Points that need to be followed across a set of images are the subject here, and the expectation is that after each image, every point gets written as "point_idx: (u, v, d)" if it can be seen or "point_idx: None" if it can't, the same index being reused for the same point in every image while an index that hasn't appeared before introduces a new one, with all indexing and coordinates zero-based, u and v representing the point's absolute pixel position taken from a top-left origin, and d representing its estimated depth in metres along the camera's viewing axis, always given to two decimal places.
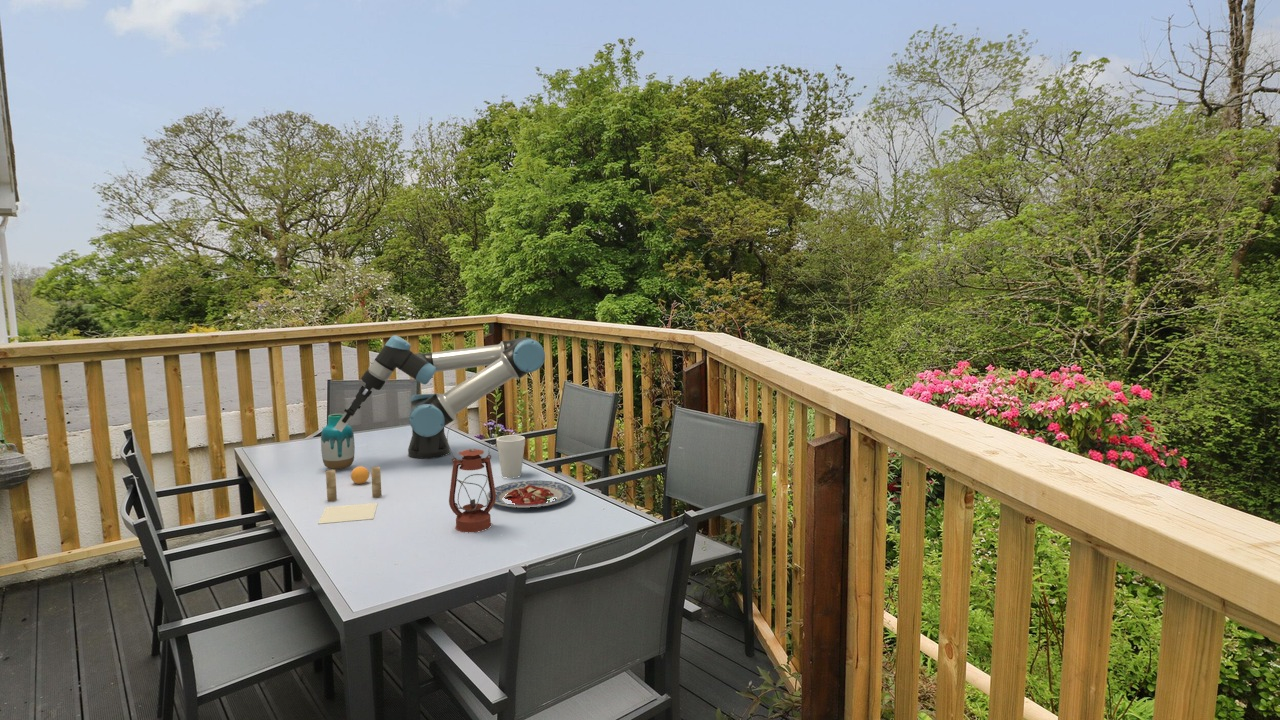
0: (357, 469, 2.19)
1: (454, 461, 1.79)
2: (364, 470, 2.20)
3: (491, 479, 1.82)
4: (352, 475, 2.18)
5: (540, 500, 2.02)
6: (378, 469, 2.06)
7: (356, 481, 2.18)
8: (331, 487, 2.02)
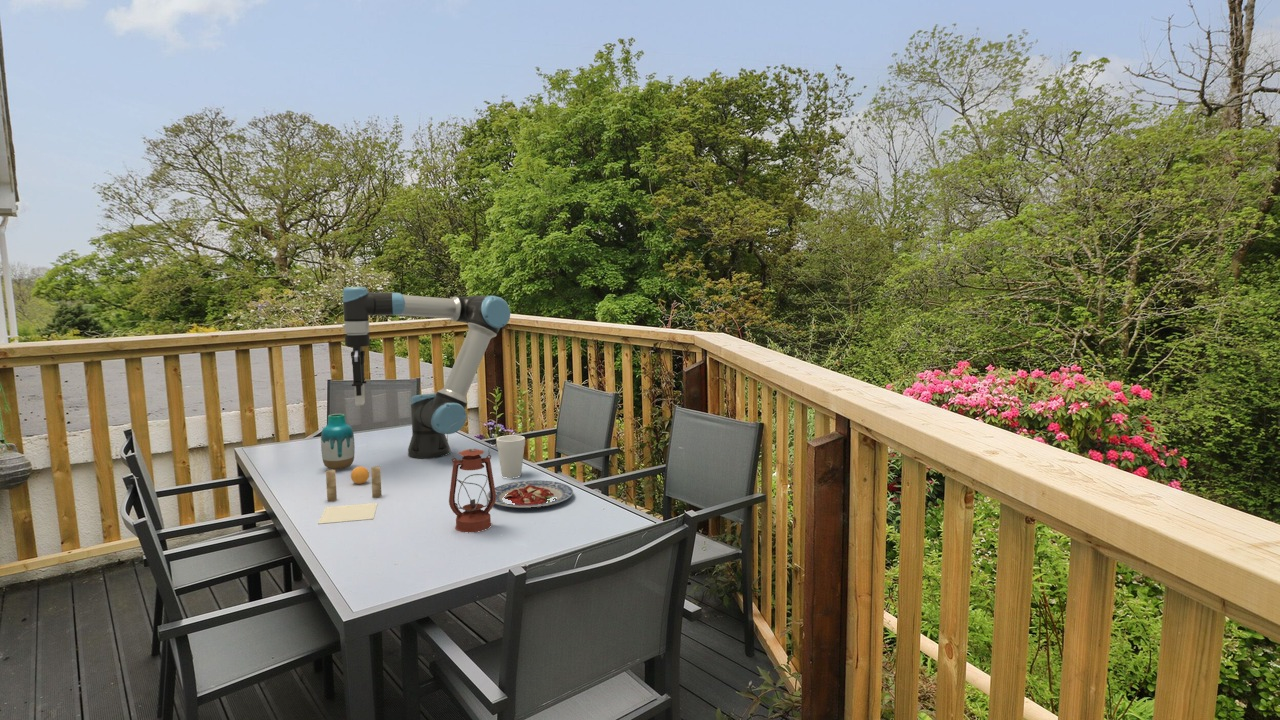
0: (357, 469, 2.19)
1: (454, 461, 1.79)
2: (364, 470, 2.20)
3: (491, 479, 1.82)
4: (352, 475, 2.18)
5: (540, 500, 2.02)
6: (378, 469, 2.06)
7: (356, 481, 2.18)
8: (331, 487, 2.02)
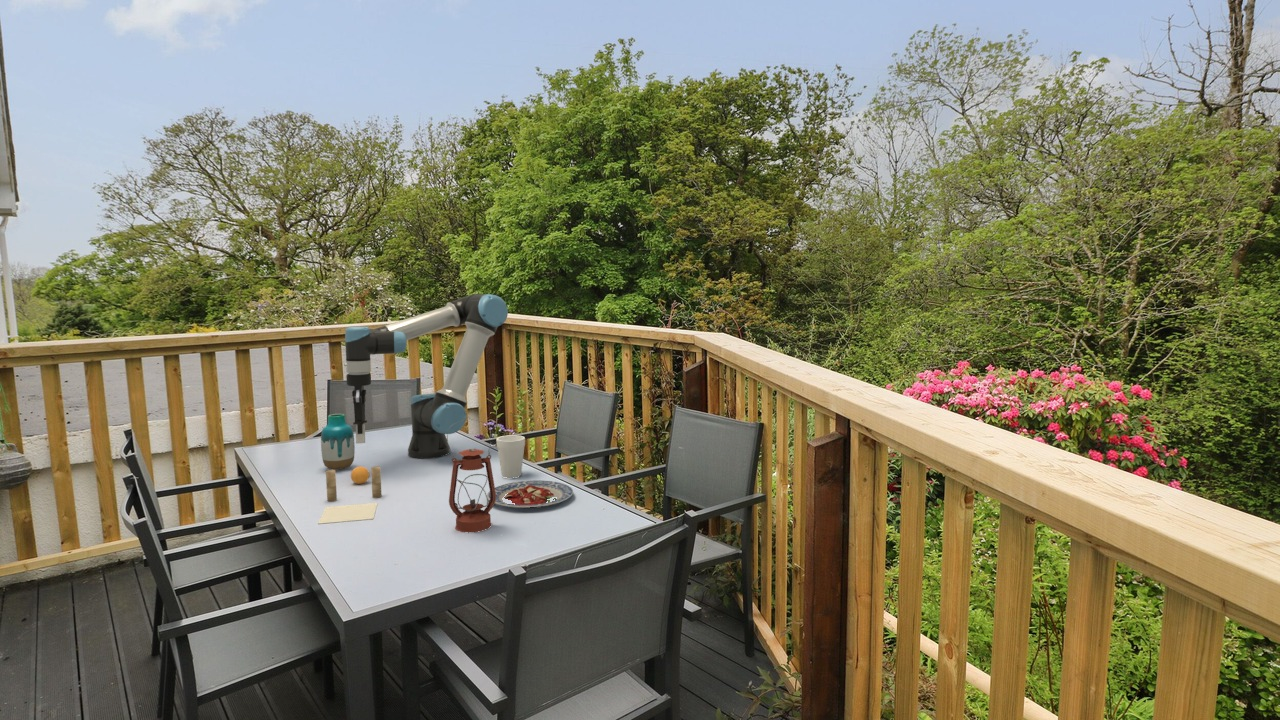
0: (357, 469, 2.19)
1: (454, 461, 1.79)
2: (364, 470, 2.20)
3: (491, 479, 1.82)
4: (352, 475, 2.18)
5: (540, 500, 2.02)
6: (378, 469, 2.06)
7: (356, 481, 2.18)
8: (331, 487, 2.02)
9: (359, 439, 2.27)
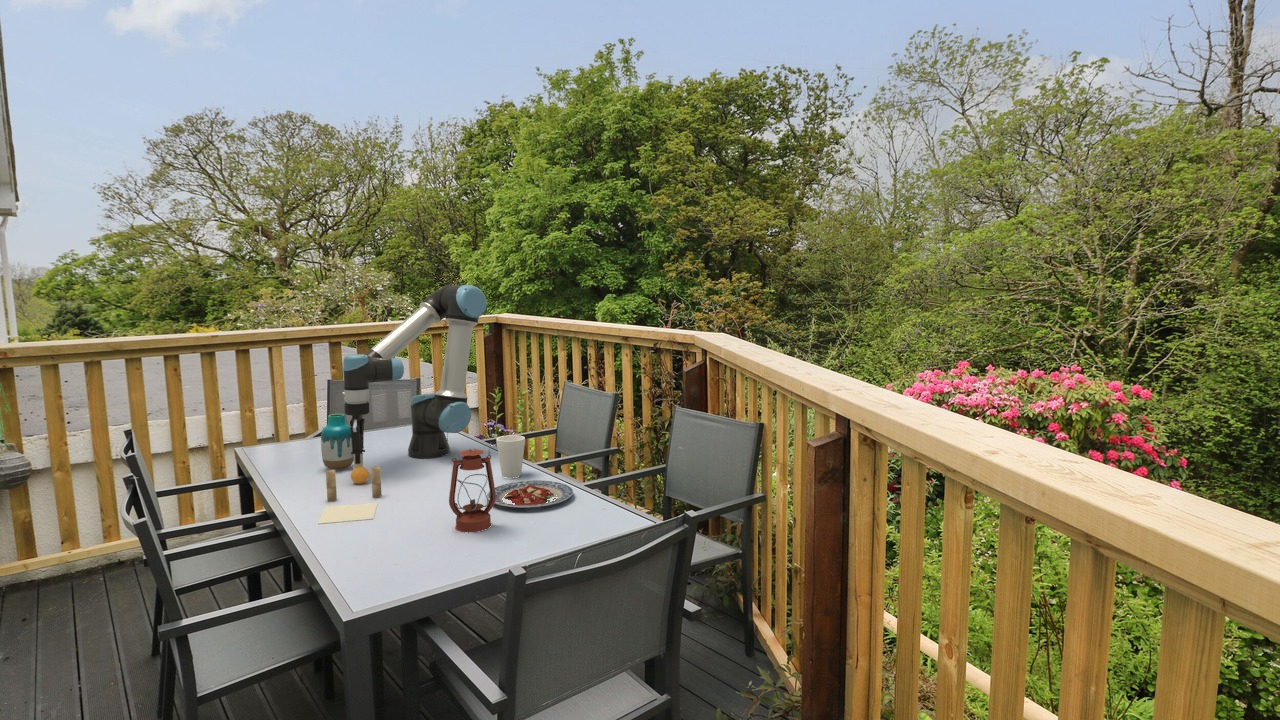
0: (357, 469, 2.19)
1: (454, 461, 1.79)
2: (364, 470, 2.20)
3: (491, 479, 1.82)
4: (352, 475, 2.18)
5: (540, 500, 2.02)
6: (378, 469, 2.06)
7: (356, 481, 2.18)
8: (331, 487, 2.02)
9: None
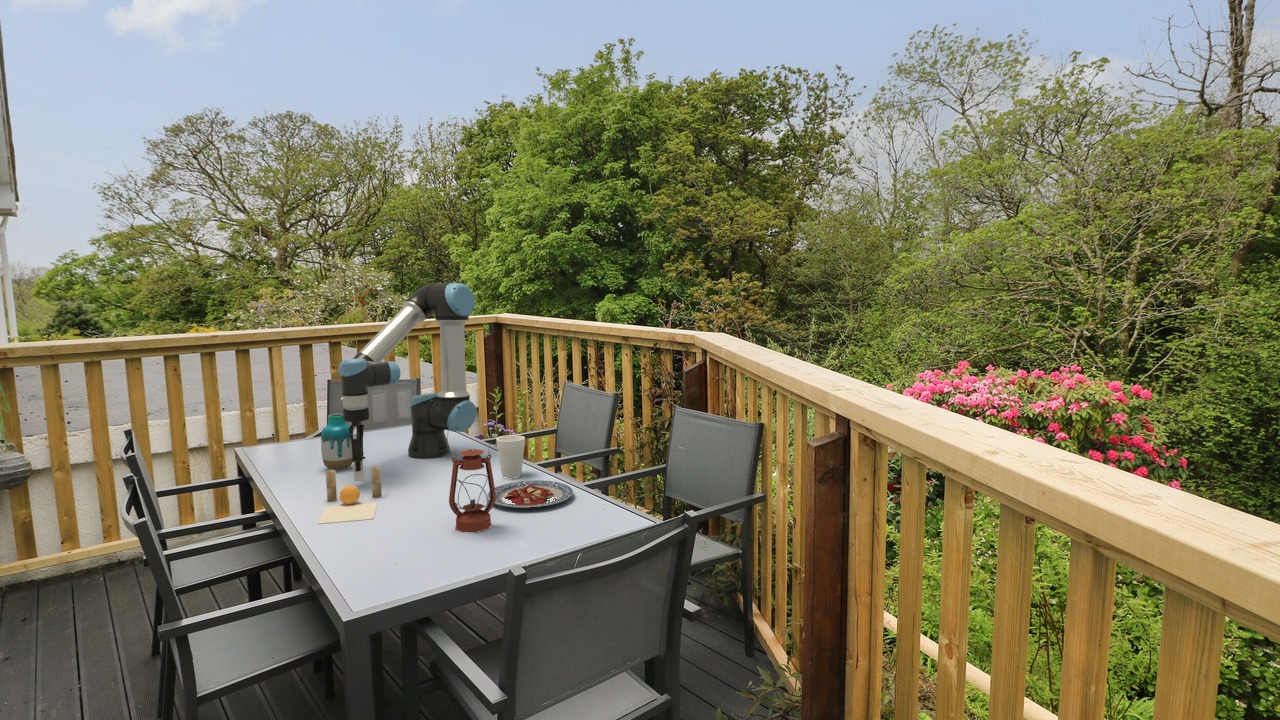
0: (346, 499, 1.98)
1: (454, 461, 1.79)
2: (354, 498, 1.99)
3: (491, 479, 1.82)
4: (342, 501, 1.99)
5: (540, 500, 2.02)
6: (378, 469, 2.06)
7: None
8: (331, 487, 2.02)
9: (357, 477, 2.17)
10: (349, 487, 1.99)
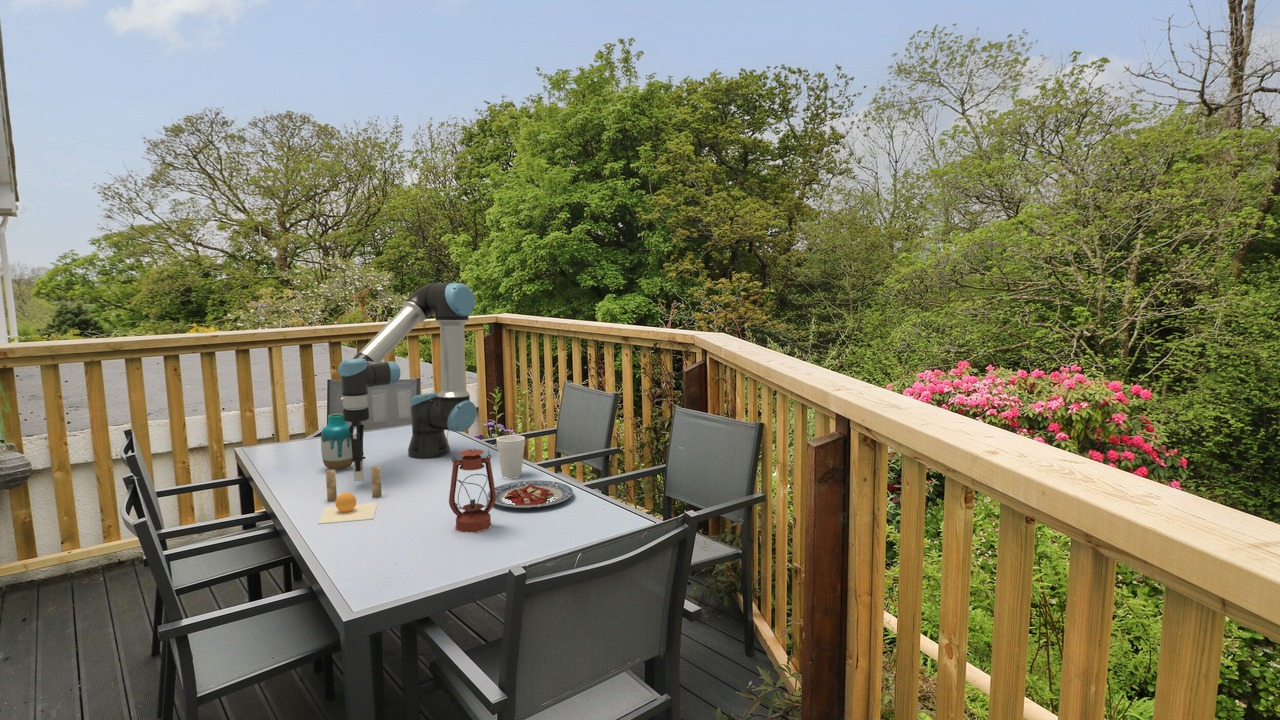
0: None
1: (454, 461, 1.79)
2: None
3: (491, 479, 1.82)
4: None
5: (540, 500, 2.02)
6: (378, 469, 2.06)
7: None
8: (331, 487, 2.02)
9: (357, 477, 2.17)
10: (346, 511, 1.93)
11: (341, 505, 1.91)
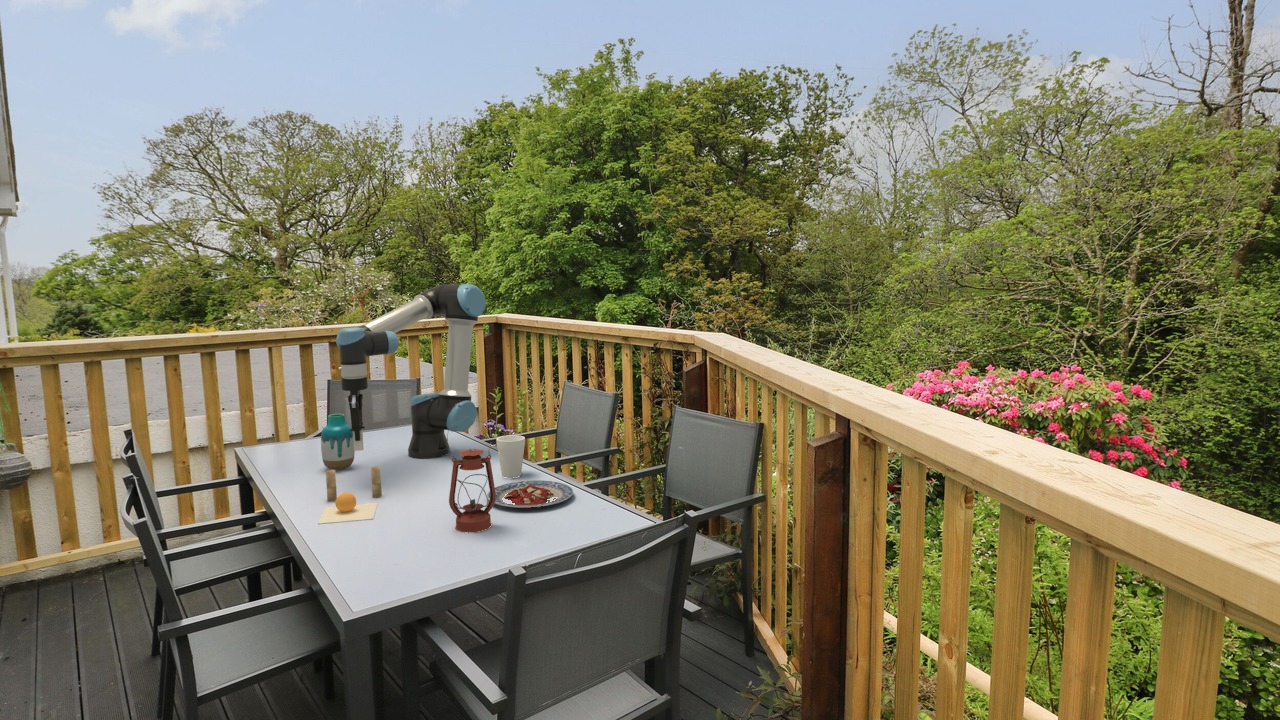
0: None
1: (454, 461, 1.79)
2: None
3: (491, 479, 1.82)
4: None
5: (540, 500, 2.02)
6: (378, 469, 2.06)
7: None
8: (331, 487, 2.02)
9: (357, 446, 2.16)
10: (346, 511, 1.93)
11: (341, 505, 1.91)
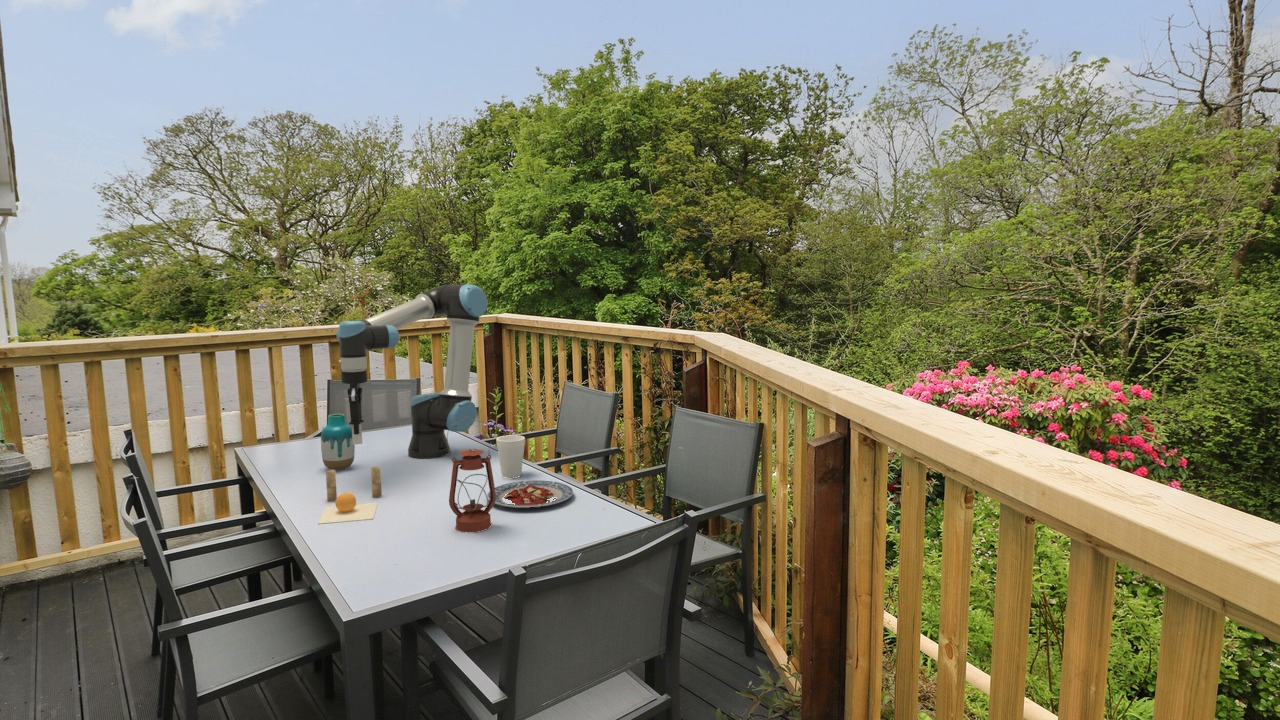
0: None
1: (454, 461, 1.79)
2: None
3: (491, 479, 1.82)
4: None
5: (540, 500, 2.02)
6: (378, 469, 2.06)
7: None
8: (331, 487, 2.02)
9: (356, 440, 2.15)
10: (346, 511, 1.93)
11: (341, 505, 1.91)
